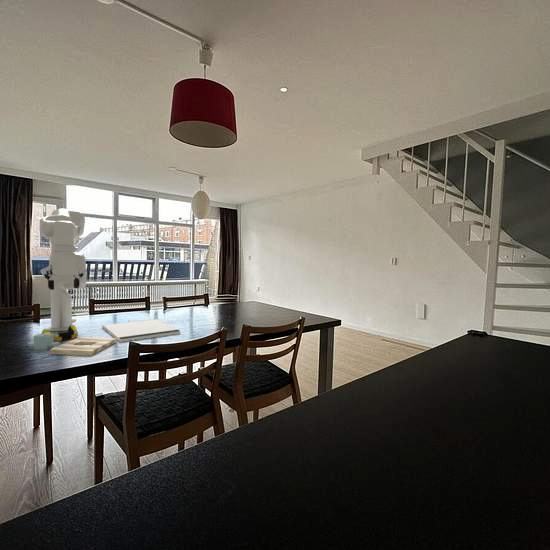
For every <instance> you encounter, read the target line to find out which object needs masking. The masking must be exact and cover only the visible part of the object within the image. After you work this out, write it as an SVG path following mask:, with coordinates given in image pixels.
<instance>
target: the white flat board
mask: <svg viewBox="0 0 550 550" xmlns="http://www.w3.org/2000/svg"><path fill="white" fill-rule="evenodd" d="M101 326H102V329H103V330H104V329H105V330H106V331H107V334H109V335H110V334H111V335H112V336H111V335H110V336H111V337H112V338H116V339H117V340H118V341H117V342H119V343H123V342H122V341H126V342H130V341H129V340H133V339H140V340H145V339H144V338H147V339H153V337H154V338H161V337H166V335H168V336H173V334H175V335H180V334H181V330H180V329H177V328H176V327H173V326H172V325H170V324H168V323H165V322H164V321H162V320H159V319H157V318H155V319H144V320H135V321H134V320H133V321H125V322H116V323H107V324H101ZM105 330H104V331H105ZM106 331H105V332H106ZM160 336H161V337H160ZM133 341H134V340H133Z"/></svg>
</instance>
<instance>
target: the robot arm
mask: <svg viewBox="0 0 550 550" xmlns="http://www.w3.org/2000/svg"><path fill="white" fill-rule="evenodd" d="M85 224H86V218H85V215H84V213H83V211H81V210H78V209H67V208H56V209H54V210H53V211H52V213H51V215H48V216H44V217H42V218H41V219H40V223H39V234H40V235H41V236H42V237H43V238H47V239H49V242H50V245H51V251H50V254H49V255H50V256H49V264H48V266H46V267H45V268H41V269H40V273H41V274H42V276H43V278H45V279H46V280H47V288H48V289H49V291H50V326H48V327H47V329H48V330H49V331H50V332H67V331H68V328H69V326H70V325H74V326H75V327H76V325H75V324H74V323H77V319H76V318H73V317H72V316H73V315H72V314H73V313H72V312H73V311H72V309H73V308H72V307H73V306H72V299H73V298H72V295H71V294H70V293H69V292H68V291H67V290H78V289H79V290H81V289H84V288H86V286H87V262H86V261H87V260H86V257H85V255H84V253H82V252H75V251H78V247H76V246H75V238H76V237H80V236H83V234H84V231H85ZM47 272H48V274H47Z"/></svg>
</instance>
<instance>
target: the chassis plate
mask: <svg viewBox="0 0 550 550" xmlns="http://www.w3.org/2000/svg"><path fill="white" fill-rule="evenodd" d="M116 342H118V341H117V339H116V338H114V337H112V338H111V337H94V336H93V337H92V336H91V337H88V336H86V337H85V336H79V337H75V338H73V339H70V340H68V341H67V342H66V341H65V342H63V344H58V345H56V346H54V347H53V348H51V349H49V354H50V355H65V356H66V355H67V356H71V355H72V356H88V355H89V357H90V356H94V355H96V354H98V353H99V351H100V352H102V351H103V350H105V349H107V348H109V347H111V346H113V345H114V343H115V344H116ZM112 344H113V345H112ZM84 345H90V346H84ZM110 345H111V346H110ZM101 350H102V351H101Z"/></svg>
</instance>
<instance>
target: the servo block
mask: <svg viewBox="0 0 550 550" xmlns="http://www.w3.org/2000/svg"><path fill="white" fill-rule="evenodd" d="M54 334H55V333H53V334H50V333H44V334H42V333H39V334H36V335H33V340H32V341H29V342H27V343H26V346H27V345H29V346H33V350H38V349H48V350H50V348H51V349H52V347H53V348H54V347H56V346H58V345H61V341H55V342H54Z"/></svg>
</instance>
